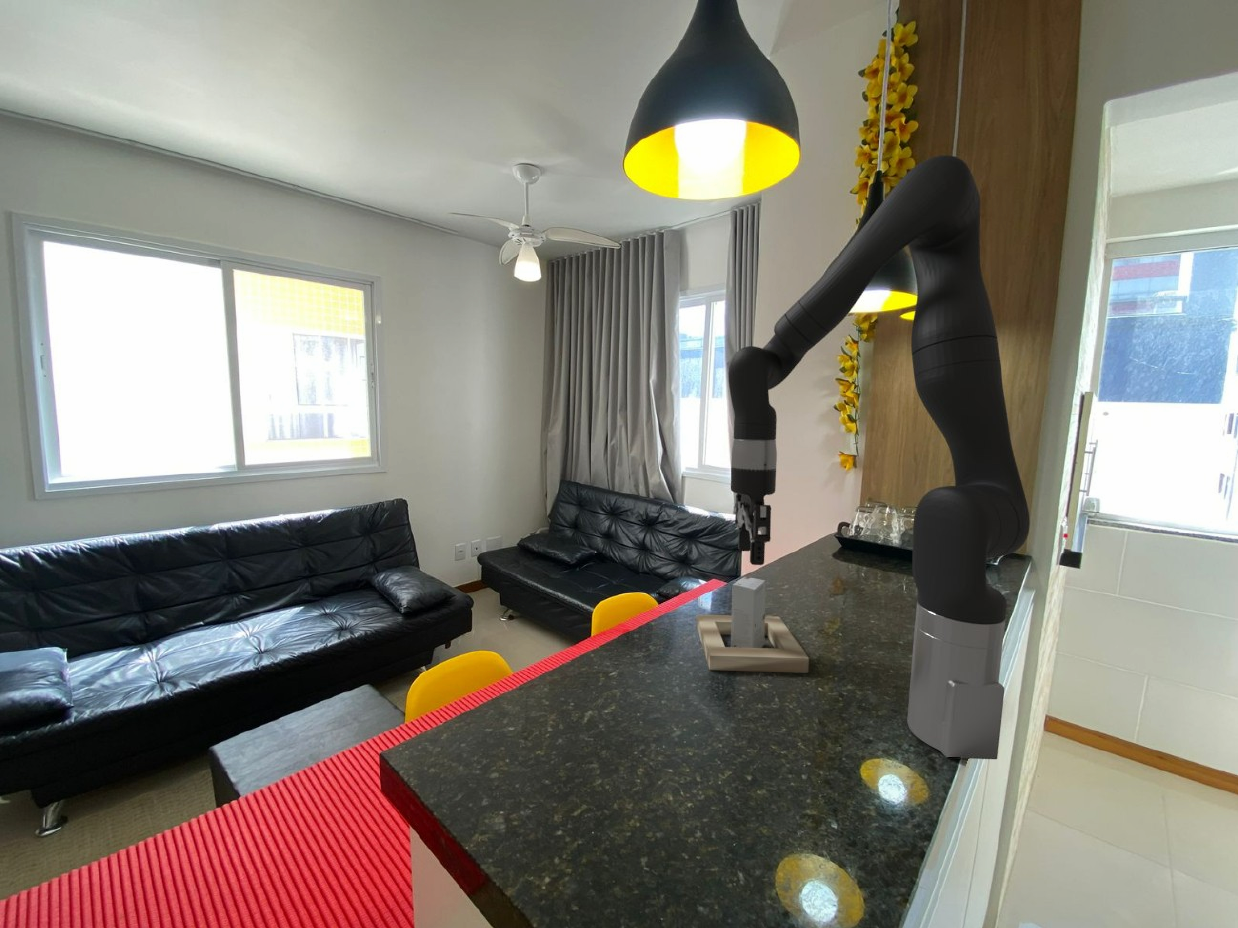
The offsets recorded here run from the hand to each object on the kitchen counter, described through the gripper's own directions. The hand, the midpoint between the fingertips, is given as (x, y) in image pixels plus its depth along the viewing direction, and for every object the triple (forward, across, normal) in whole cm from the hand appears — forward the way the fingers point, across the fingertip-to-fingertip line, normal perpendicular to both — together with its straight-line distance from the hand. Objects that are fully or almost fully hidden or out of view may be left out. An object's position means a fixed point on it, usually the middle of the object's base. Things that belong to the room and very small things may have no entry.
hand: (750, 557), depth 84 cm
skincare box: (+17, +1, 0) cm, 17 cm away
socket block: (+17, 0, 0) cm, 17 cm away
